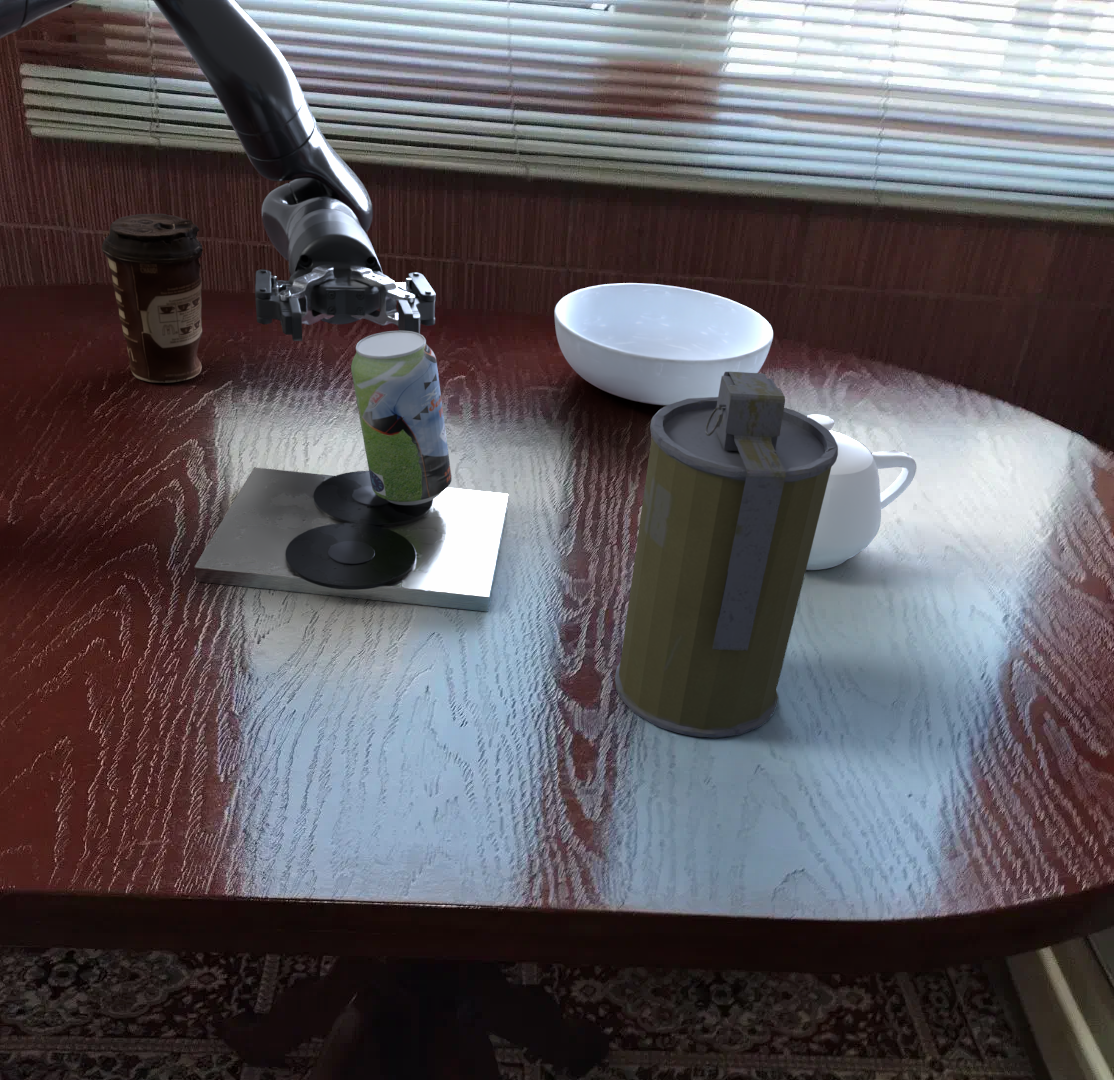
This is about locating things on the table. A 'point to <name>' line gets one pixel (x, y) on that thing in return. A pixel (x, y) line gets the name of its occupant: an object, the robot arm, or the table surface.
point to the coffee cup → (158, 293)
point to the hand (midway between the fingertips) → (354, 329)
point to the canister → (721, 557)
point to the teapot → (854, 498)
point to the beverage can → (401, 417)
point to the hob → (357, 541)
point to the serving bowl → (658, 340)
